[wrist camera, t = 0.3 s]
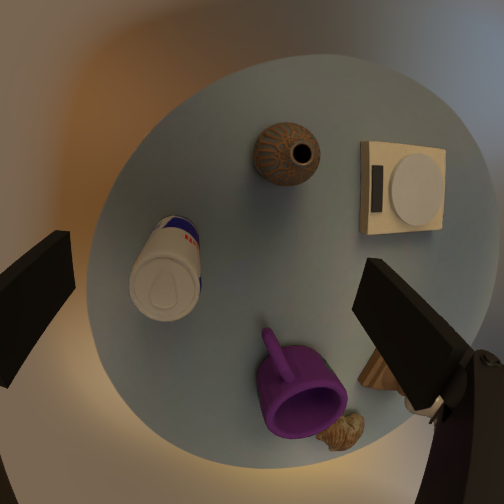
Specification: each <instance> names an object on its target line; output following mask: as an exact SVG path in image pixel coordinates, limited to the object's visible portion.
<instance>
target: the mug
mask: <svg viewBox="0 0 504 504" xmlns="http://www.w3.org/2000/svg"><path fill="white" fill-rule="evenodd" d="M261 333H262V338H263V340H264V343H265V345H266V347H267V349H268V351H269V353H270V355H269V356H268V357H267V358H266V359H265V360H264V361H263V362H262V364H261V366H260V367H259V370H258V373H257V393H258V398H259V403H260V407H261V411H262V414H263V418H264V421H265V424H266V426H267V427H268V429H269V430H270V431H271V432H272V433H273V434H274V435H276V436H279V437H281V438H286V439H301V438H305V437H309V436H312V435H315V434H318V433H320V432H322V431H323V430H325V429H327V428H329V427H330V426H331V425H332V424H333V423H335V422H336V421H337V420H338V419H339V417H340V416H341V415H342V414H343V412H344V410H345V408H346V405H347V400H348V397H347V392H346V390H345V388H344V387H343V385H342V383H341V382H340V380H339V379H338V377H337V376H336V374H335V373H334V371H333V370H332V369H331V367H330V366H329V365H328V363H327V362H326V361H325V359H324V358H323V357H322V356H321V355H320V354H318V353H317V352H316V351H314V350H313V349H311V348H308V347H305V346H298V345H293V346H287V347H284V348H281V346H280V344H279V342H278V340H277V338H276V337H275V335H274V333H273V331H272V330H271V329H270V328H264V329H263V330H262V332H261Z"/></svg>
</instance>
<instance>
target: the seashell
mask: <svg viewBox="0 0 504 504" xmlns="http://www.w3.org/2000/svg"><path fill="white" fill-rule="evenodd" d="M363 430H364V418H363V416H361V415H358V414H355V413H353V414H350V415H348V416H347V417H344V416H343V415H341V416H340V417H339V419H338V420H337V421H336V422H335V423H333V424H332V425H331V426H330V427H329V428H327V429H325V430H323V431H322V432H320V433H318V434H317V435H316V439H318V440H321V441H323V442H325V443H326V444H327V445H328V446H329V450H330V451H344V450H347V449H349V448H350V447H352V446H353V445H354V444H355V443H356V442H357V440H358V439H359V438H360V437H361V435H362V433H363Z"/></svg>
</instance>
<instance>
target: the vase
mask: <svg viewBox="0 0 504 504" xmlns="http://www.w3.org/2000/svg"><path fill="white" fill-rule="evenodd" d="M253 156H254V162H255V165H256V167H257V169H258V171H259V172H260V174H261V175H262V176H263V177H264V178H266V179H267V180H268V181H270V182H272V183H274V184H277V185H281V186H294V185H298V184H301V183H303V182H305V181H306V180H308V179H309V178H310V177H311V176H312V175H313V174H314V173H315V171H316V170H317V168H318V165H319V162H320V148H319V144H318V142H317V140H316V138H315V137H314V136H313V134H312V133H311V132H310V131H309V130H307V129H306V128H304V127H303V126H301V125H298V124H295V123H288V122H284V123H278V124H275V125H272V126H270V127H269V128H267V129H266V130H264V131H263V132H262V133H261V134H260V136H259V137H258V139H257V141H256V143H255V146H254V152H253Z"/></svg>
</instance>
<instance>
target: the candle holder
mask: <svg viewBox="0 0 504 504" xmlns="http://www.w3.org/2000/svg"><path fill="white" fill-rule="evenodd" d="M358 381H359V383H360V384H361V385H362V386H363V387H370V388H373V389H378V390H397V391H398V393H399V394H400V395H402V396H405V402H404V403H405V407H406V408H407V410H409V411H410V412H411V413H414V414H417V415H422V416H427V417H430V418H432V417H433V415H434V414H435V413H436V411H437V410H438V409H439V407H440V406H441V404H442V403H443V399H442V398H441V396H440V395H439V397H438V398H437V400H436V401H435V403H434V404H433V405H432V407H431V408H427V409H423V410H419V411H415V410H414V409H413V407H412V405H411V404H410V402H409V400H408V398H407V397H406V395H405V393H404V392H403V390H402V388H401V387H400V385H399V383H398V382H397V380H396V379H395V377H394V375H393V374H392V372H391V370H390V369H389V367H388V366H387V364H386V362H385V361H384V359H383V358H382V356H381V354H380V353H379V351H378V350H377V348H376V350H375V351H374V353H373V355H372V356H371V358H370V360H369V361H368V363H367V365H366V366H365V368H364V370H363V371H362V373H361V375H360V376H359V378H358ZM436 422H437V419H435V420H434V427H436V426H435V424H436ZM434 432H435V428H434Z"/></svg>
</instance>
